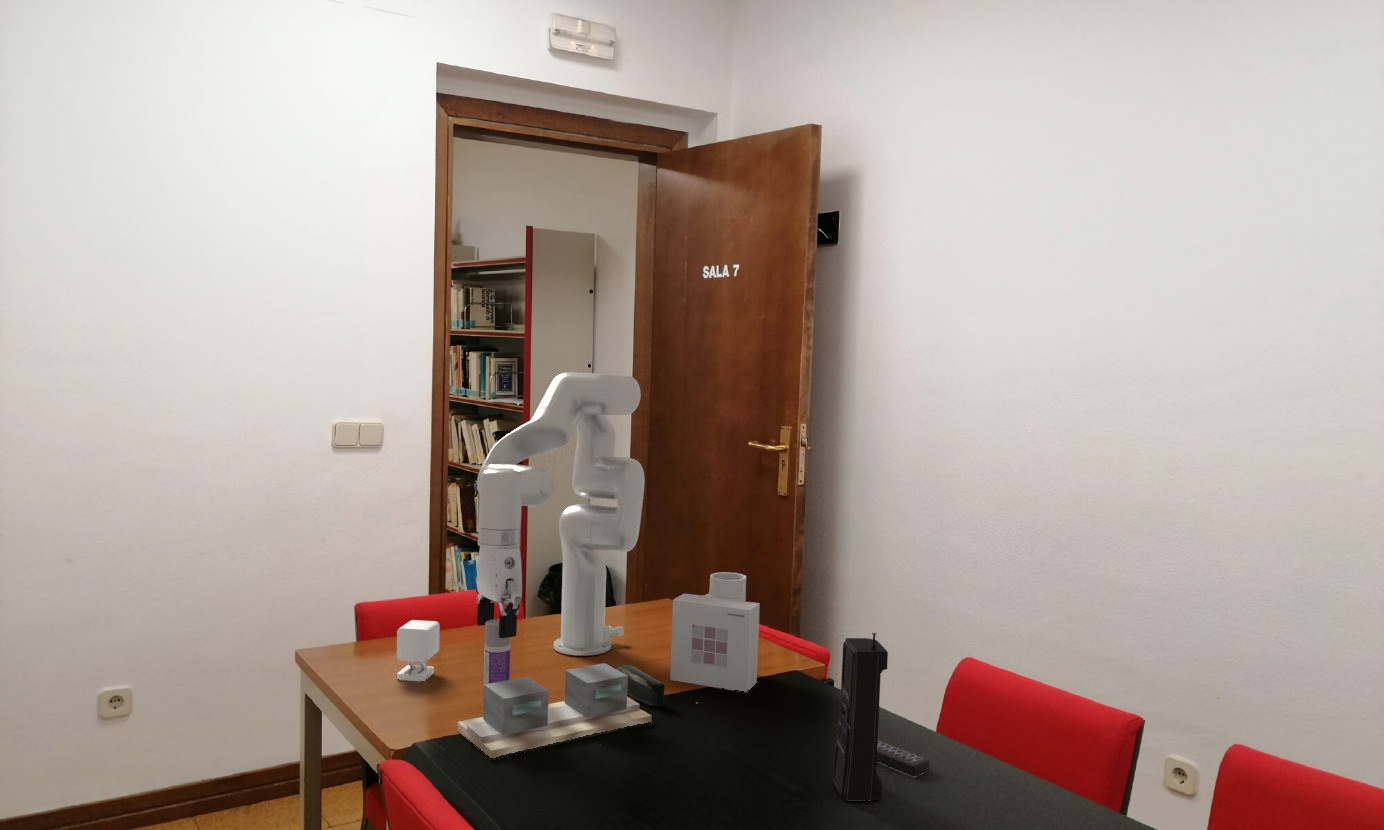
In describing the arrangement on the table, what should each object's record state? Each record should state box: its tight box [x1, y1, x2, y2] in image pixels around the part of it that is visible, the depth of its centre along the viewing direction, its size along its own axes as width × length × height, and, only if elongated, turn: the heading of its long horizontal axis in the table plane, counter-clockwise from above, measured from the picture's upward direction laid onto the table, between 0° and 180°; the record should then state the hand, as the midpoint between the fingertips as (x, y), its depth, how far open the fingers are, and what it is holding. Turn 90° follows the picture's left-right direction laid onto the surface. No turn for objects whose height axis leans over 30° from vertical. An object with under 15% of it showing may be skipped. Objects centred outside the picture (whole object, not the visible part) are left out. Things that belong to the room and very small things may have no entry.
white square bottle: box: [669, 571, 760, 693], centre depth 200 cm, size 16×19×20 cm
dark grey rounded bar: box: [615, 664, 666, 708], centre depth 185 cm, size 5×3×15 cm
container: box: [482, 618, 511, 705], centre depth 179 cm, size 5×5×15 cm
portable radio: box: [832, 632, 889, 801], centre depth 147 cm, size 8×6×25 cm
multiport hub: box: [877, 739, 931, 776], centre depth 159 cm, size 4×14×2 cm, turn 42°
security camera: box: [396, 619, 441, 682], centre depth 193 cm, size 6×7×10 cm
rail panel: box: [457, 662, 653, 759], centre depth 168 cm, size 30×14×8 cm, turn 125°
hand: (496, 630), depth 178 cm, fingers open, 9 cm apart
